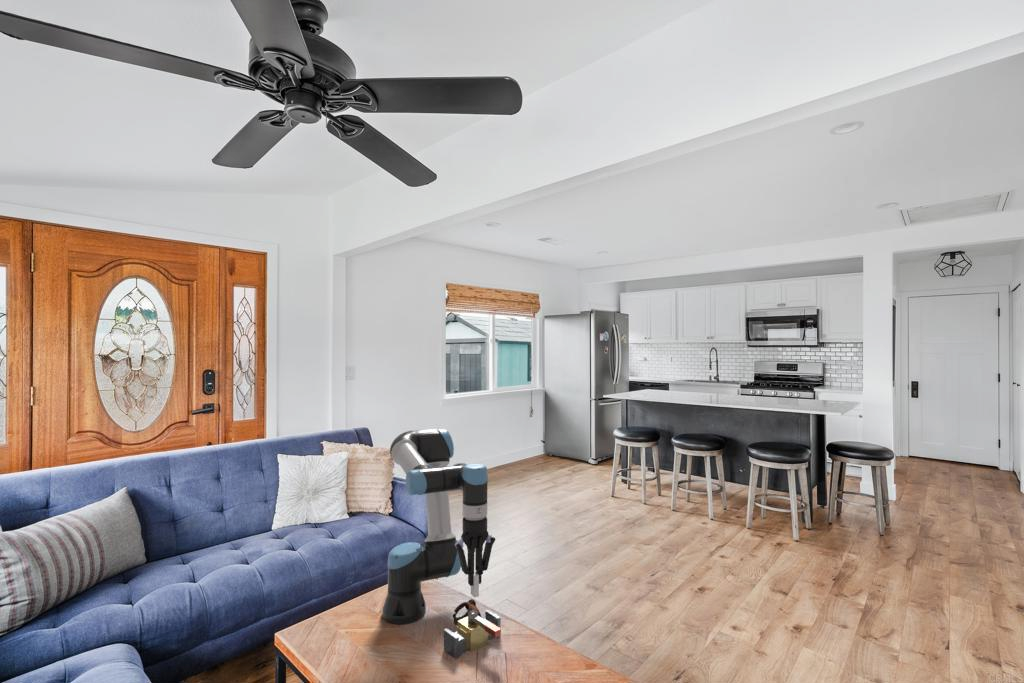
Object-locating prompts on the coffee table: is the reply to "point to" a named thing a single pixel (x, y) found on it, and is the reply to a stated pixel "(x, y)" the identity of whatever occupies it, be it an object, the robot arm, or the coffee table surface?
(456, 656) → the valve body
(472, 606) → the pottery mug
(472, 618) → the lever
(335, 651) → the coffee table surface
